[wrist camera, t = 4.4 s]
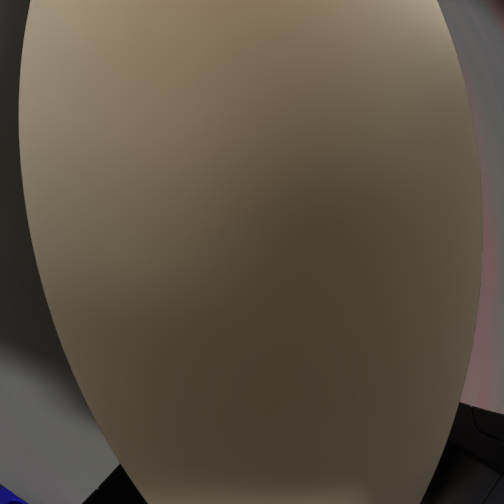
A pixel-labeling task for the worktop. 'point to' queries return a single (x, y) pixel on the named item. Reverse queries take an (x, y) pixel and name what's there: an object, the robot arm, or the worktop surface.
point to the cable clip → (9, 497)
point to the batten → (257, 238)
